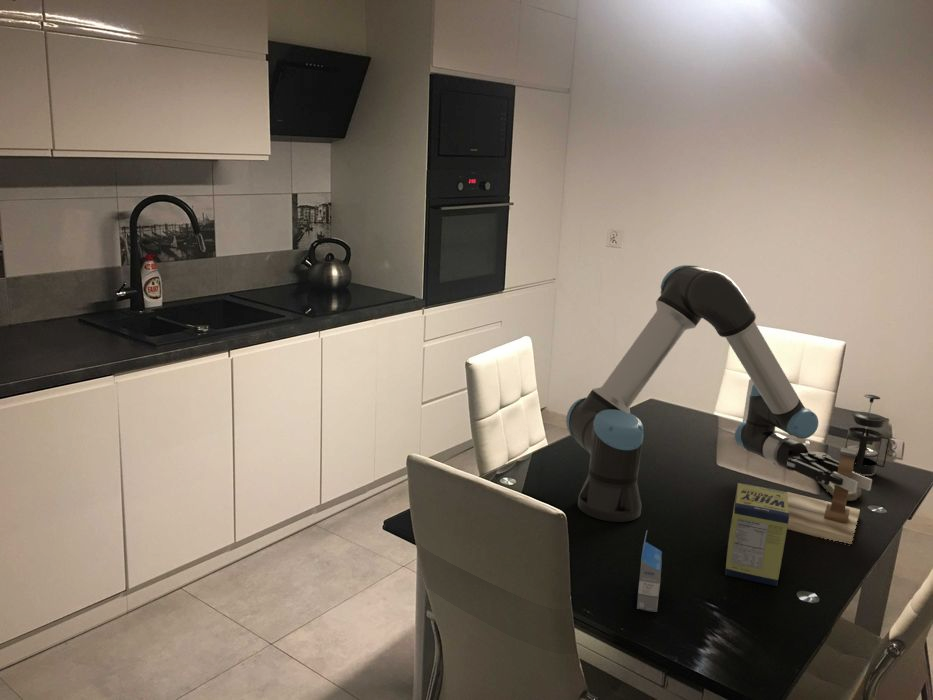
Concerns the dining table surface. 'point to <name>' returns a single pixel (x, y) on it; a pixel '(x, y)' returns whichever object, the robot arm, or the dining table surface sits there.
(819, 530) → the pine board
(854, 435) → the french press
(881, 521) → the dining table surface
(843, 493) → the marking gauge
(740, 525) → the protein box
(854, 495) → the elongated rock
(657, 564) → the label tape box
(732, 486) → the dining table surface
